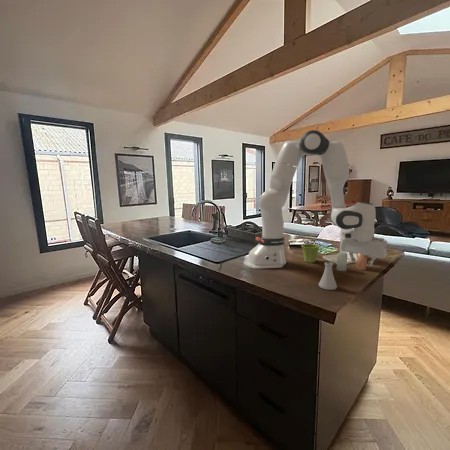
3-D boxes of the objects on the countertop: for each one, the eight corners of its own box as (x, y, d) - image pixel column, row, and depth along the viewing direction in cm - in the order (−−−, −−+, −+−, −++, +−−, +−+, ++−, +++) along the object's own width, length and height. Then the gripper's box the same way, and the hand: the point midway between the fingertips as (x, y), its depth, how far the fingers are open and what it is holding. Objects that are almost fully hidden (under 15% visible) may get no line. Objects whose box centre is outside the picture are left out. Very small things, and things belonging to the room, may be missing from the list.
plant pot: (299, 258, 145) (300, 243, 143) (317, 258, 143) (317, 243, 142) (302, 263, 136) (302, 247, 134) (320, 264, 134) (321, 248, 133)
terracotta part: (361, 270, 123) (362, 254, 122) (354, 267, 127) (355, 252, 126) (368, 269, 125) (369, 253, 123) (361, 266, 129) (362, 251, 127)
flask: (337, 291, 101) (338, 267, 99) (318, 289, 103) (319, 265, 102) (336, 284, 107) (338, 261, 106) (318, 282, 110) (319, 260, 108)
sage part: (341, 271, 122) (341, 255, 121) (334, 268, 127) (335, 253, 125) (348, 270, 124) (349, 254, 122) (342, 267, 128) (342, 252, 126)
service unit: (339, 265, 132) (341, 234, 129) (321, 257, 145) (323, 230, 143) (366, 261, 137) (368, 232, 134) (347, 254, 150) (348, 227, 148)
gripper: (390, 237, 117) (387, 266, 120) (345, 231, 133) (344, 257, 135) (385, 240, 113) (382, 269, 116) (339, 233, 129) (338, 260, 131)
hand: (361, 263), depth 126 cm, fingers open, 7 cm apart
